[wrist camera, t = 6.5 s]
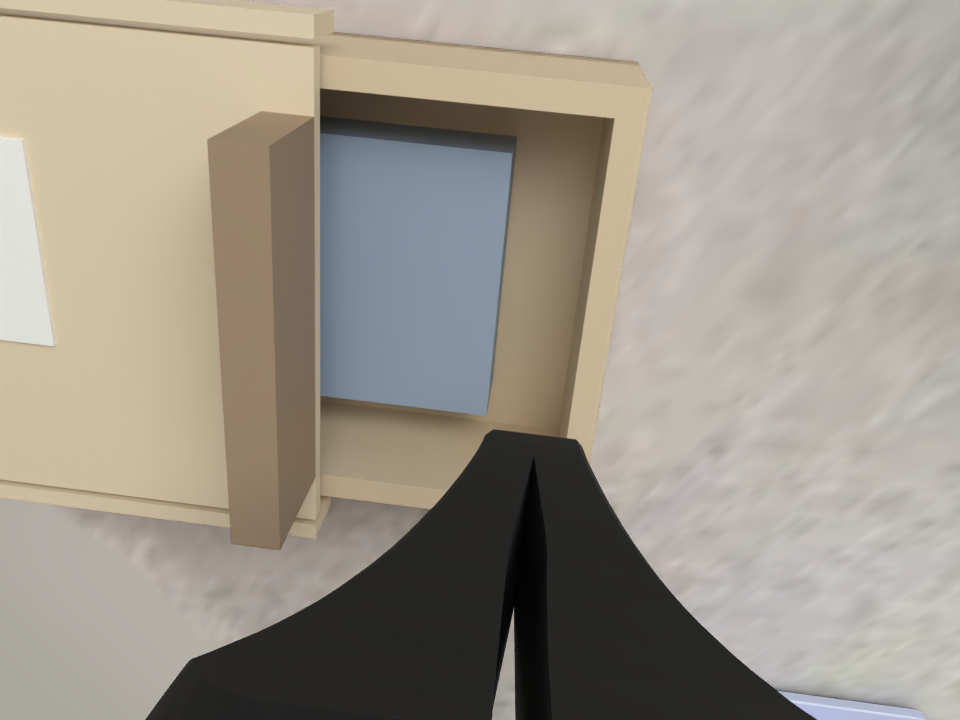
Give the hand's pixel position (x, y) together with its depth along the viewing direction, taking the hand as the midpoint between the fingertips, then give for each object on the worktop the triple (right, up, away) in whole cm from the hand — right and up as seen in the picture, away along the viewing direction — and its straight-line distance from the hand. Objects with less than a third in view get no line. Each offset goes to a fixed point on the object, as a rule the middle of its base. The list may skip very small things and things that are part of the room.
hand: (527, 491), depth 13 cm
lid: (-11, +4, +7) cm, 14 cm away
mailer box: (-4, +5, +9) cm, 11 cm away
